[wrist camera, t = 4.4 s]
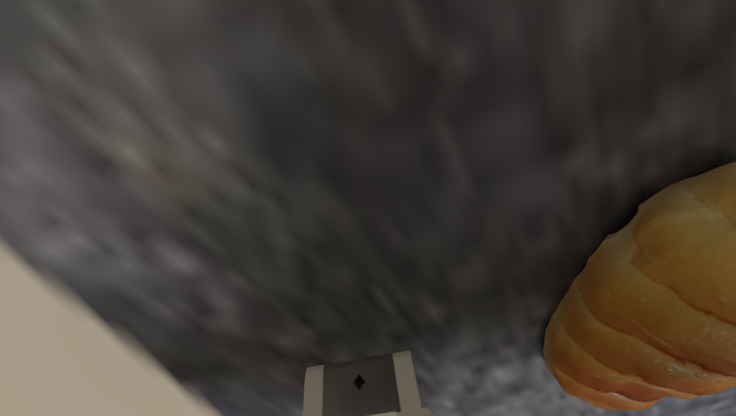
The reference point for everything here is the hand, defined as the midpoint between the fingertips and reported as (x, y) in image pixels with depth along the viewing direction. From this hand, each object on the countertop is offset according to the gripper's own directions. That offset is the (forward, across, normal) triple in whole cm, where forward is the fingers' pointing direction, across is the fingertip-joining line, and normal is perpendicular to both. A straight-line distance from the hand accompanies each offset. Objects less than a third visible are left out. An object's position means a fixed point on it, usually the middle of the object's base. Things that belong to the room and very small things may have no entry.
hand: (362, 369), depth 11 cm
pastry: (+2, -10, 0) cm, 11 cm away
